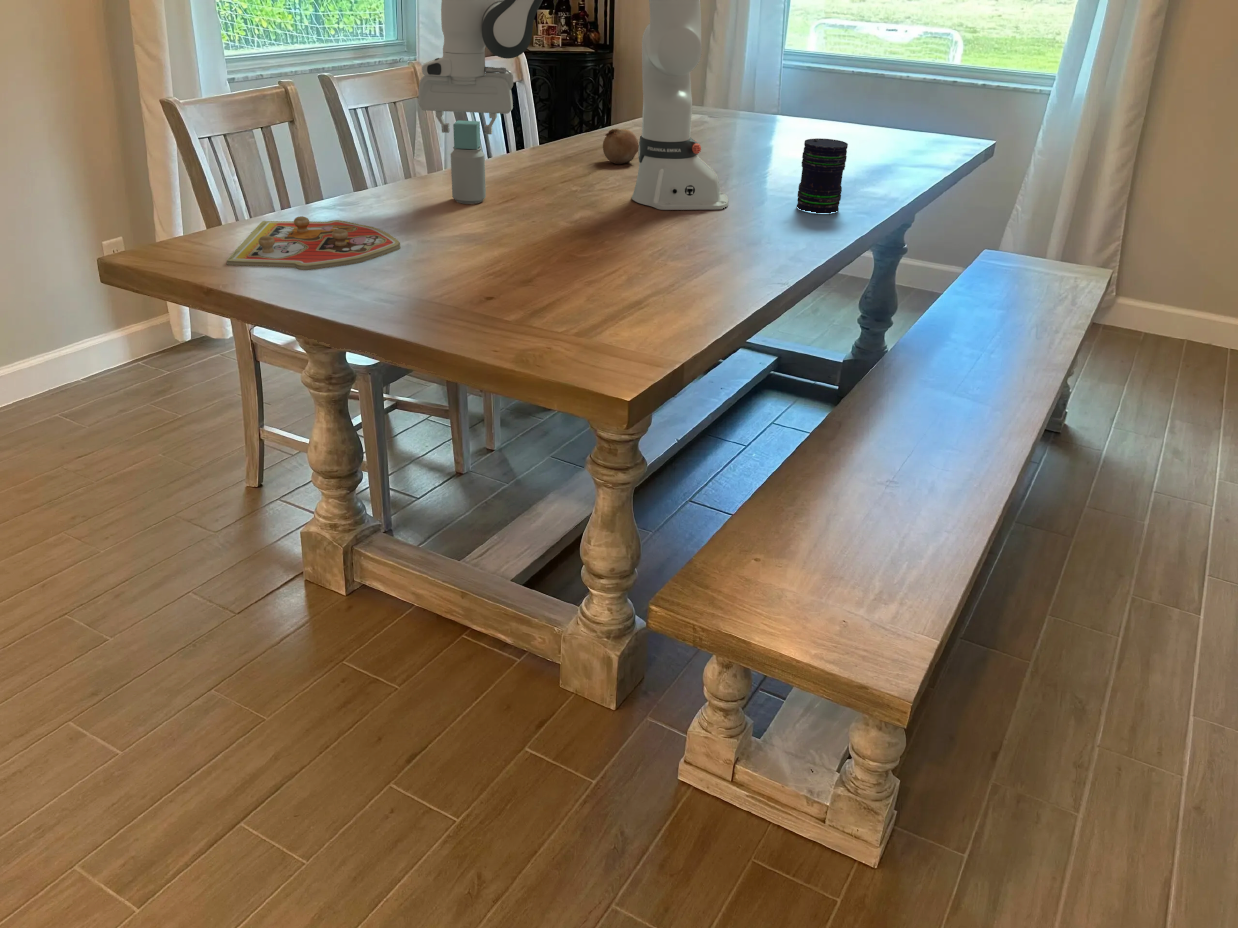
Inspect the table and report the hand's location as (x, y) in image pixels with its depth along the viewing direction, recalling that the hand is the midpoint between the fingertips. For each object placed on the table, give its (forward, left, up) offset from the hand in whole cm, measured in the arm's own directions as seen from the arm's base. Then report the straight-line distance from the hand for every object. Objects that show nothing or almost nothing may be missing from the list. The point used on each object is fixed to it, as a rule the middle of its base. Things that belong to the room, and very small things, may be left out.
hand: (467, 133), depth 219 cm
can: (0, 0, -15) cm, 15 cm away
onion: (-33, -46, -15) cm, 59 cm away
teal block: (0, 0, -3) cm, 3 cm away
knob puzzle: (+22, +39, -16) cm, 47 cm away
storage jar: (-80, -6, -15) cm, 81 cm away
